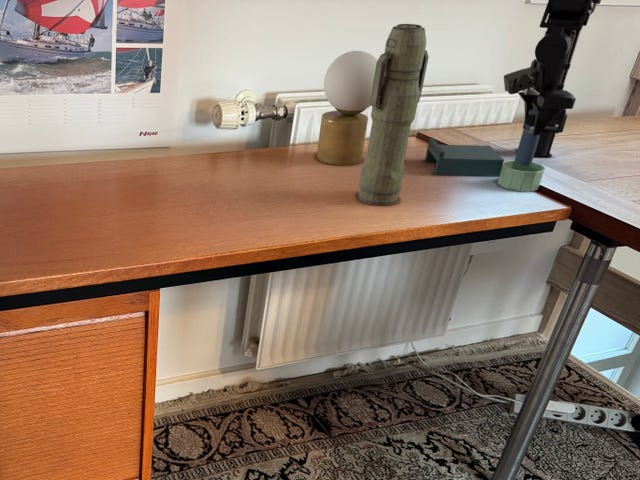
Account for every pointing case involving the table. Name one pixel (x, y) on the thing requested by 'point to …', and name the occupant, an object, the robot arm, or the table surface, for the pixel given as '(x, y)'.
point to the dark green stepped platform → (464, 159)
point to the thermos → (393, 113)
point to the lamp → (346, 108)
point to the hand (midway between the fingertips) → (531, 131)
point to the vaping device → (527, 141)
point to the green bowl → (521, 176)
